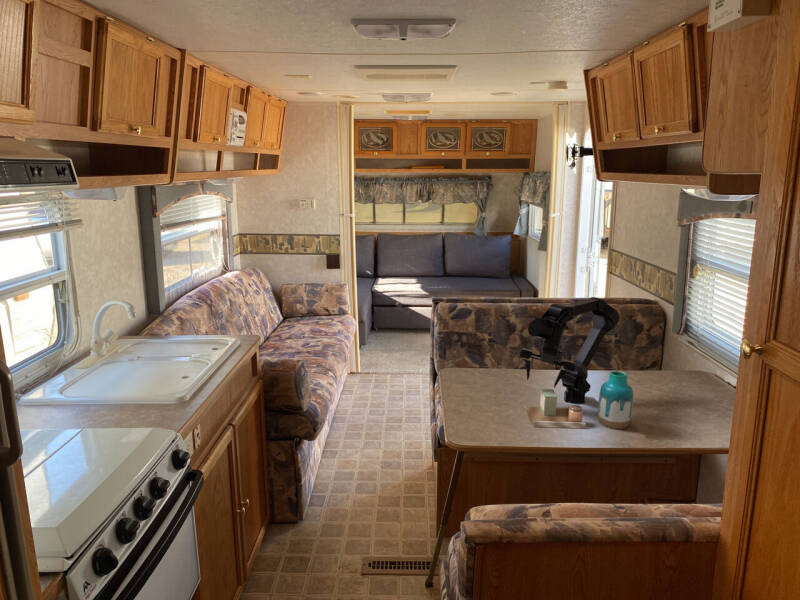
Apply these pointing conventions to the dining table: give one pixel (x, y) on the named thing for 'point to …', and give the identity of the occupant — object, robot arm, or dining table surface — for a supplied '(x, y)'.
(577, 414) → the spice jar
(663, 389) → the dining table surface
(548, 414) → the tea box
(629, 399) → the vase
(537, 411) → the wooden tray
